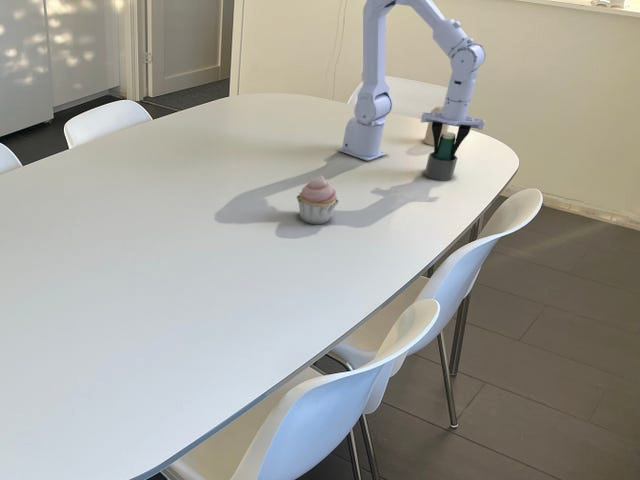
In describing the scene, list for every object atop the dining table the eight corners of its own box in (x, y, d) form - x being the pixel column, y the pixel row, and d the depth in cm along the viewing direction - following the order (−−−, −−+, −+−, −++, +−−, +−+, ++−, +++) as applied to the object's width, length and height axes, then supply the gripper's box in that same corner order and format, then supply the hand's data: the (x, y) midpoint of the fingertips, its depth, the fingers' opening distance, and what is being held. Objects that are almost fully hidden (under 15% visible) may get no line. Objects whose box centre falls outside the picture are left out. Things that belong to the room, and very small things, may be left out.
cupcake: (343, 218, 164) (351, 176, 158) (320, 231, 158) (328, 187, 153) (308, 206, 169) (315, 164, 163) (285, 218, 164) (291, 175, 158)
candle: (441, 140, 209) (450, 104, 204) (446, 146, 205) (455, 110, 199) (422, 138, 210) (430, 103, 204) (426, 145, 205) (434, 109, 199)
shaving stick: (430, 164, 186) (438, 133, 181) (438, 161, 187) (446, 130, 183) (443, 168, 183) (451, 137, 179) (451, 165, 185) (459, 134, 181)
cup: (419, 174, 187) (423, 155, 184) (434, 168, 191) (439, 149, 188) (442, 182, 183) (447, 163, 180) (457, 176, 187) (462, 157, 184)
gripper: (425, 99, 175) (412, 154, 183) (489, 107, 171) (473, 163, 179) (427, 91, 180) (415, 146, 188) (489, 99, 176) (474, 154, 184)
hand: (443, 153), depth 184 cm, fingers closed on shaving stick, 4 cm apart
